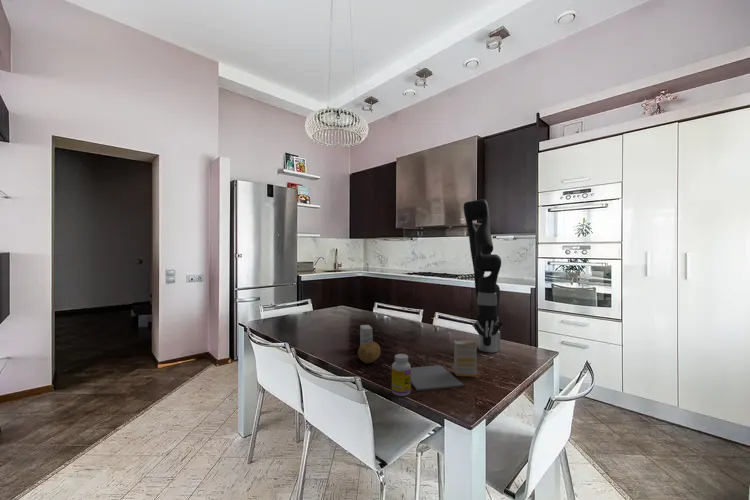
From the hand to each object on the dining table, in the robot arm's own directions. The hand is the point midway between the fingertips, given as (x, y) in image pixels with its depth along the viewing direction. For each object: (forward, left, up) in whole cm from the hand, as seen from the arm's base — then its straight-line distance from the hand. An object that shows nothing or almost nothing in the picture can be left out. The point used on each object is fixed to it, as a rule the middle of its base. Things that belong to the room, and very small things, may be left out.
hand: (486, 345), depth 131 cm
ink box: (+43, -38, -11) cm, 58 cm away
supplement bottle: (+40, +10, -11) cm, 42 cm away
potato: (+45, -22, -11) cm, 51 cm away
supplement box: (+10, 0, -11) cm, 15 cm away
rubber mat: (+25, 0, -11) cm, 27 cm away
